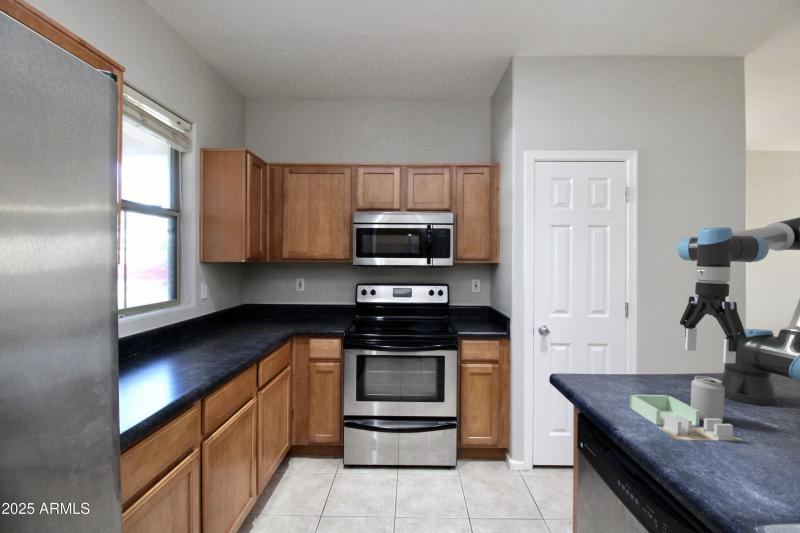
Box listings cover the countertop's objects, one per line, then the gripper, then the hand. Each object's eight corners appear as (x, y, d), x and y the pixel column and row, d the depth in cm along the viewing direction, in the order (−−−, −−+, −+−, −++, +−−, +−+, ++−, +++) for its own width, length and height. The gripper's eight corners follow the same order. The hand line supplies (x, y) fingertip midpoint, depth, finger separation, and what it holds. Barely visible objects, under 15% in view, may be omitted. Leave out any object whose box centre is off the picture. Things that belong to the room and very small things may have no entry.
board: (719, 430, 105) (720, 428, 105) (743, 442, 98) (743, 440, 98) (657, 429, 105) (657, 427, 105) (676, 441, 98) (676, 439, 98)
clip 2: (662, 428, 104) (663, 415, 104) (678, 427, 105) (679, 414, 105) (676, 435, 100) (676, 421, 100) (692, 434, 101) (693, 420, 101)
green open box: (668, 409, 119) (668, 395, 118) (699, 427, 107) (699, 411, 106) (629, 409, 118) (629, 394, 118) (655, 426, 106) (656, 410, 106)
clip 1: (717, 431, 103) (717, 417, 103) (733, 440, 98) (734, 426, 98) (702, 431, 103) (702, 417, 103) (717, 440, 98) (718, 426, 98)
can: (729, 427, 107) (731, 384, 107) (698, 424, 109) (700, 381, 108) (713, 416, 115) (715, 375, 114) (684, 413, 116) (686, 373, 116)
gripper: (668, 278, 123) (665, 345, 124) (738, 285, 98) (733, 368, 99) (691, 279, 123) (688, 345, 124) (767, 286, 98) (762, 369, 99)
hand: (708, 356), depth 111 cm, fingers open, 13 cm apart
